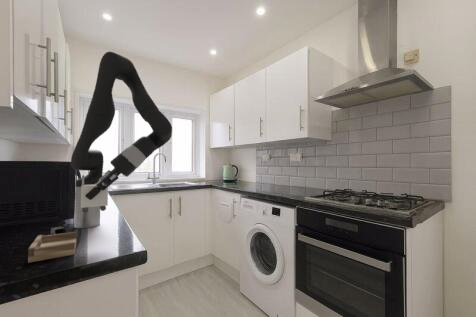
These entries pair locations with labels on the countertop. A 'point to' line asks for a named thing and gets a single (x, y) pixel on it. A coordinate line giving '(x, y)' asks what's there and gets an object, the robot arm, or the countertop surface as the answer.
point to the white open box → (98, 200)
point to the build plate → (57, 230)
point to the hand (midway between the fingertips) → (87, 196)
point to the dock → (52, 246)
